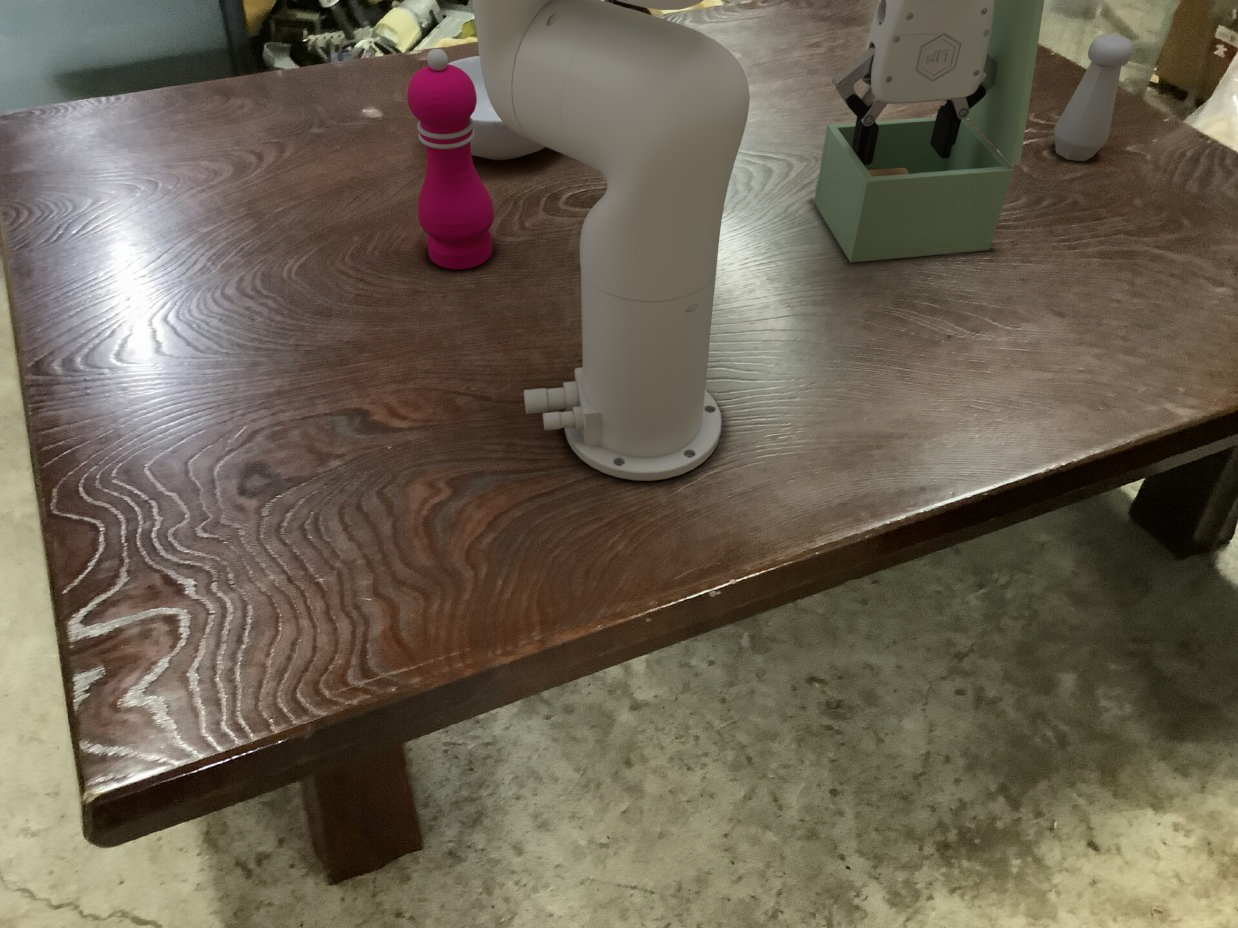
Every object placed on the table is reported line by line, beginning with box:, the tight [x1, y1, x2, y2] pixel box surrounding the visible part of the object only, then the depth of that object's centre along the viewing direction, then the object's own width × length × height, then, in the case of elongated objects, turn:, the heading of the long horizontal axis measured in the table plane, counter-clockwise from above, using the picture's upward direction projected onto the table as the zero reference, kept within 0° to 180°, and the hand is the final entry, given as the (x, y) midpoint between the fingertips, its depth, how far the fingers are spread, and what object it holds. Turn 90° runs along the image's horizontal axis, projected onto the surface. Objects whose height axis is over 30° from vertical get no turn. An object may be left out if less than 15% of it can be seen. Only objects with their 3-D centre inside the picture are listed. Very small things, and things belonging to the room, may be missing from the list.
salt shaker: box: [1053, 33, 1135, 162], centre depth 108 cm, size 6×6×13 cm
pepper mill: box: [406, 48, 495, 270], centre depth 90 cm, size 7×7×20 cm
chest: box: [813, 116, 1016, 263], centre depth 98 cm, size 15×12×9 cm
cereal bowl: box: [448, 55, 546, 161], centre depth 111 cm, size 17×17×7 cm
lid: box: [966, 0, 1045, 166], centre depth 90 cm, size 16×12×1 cm
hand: (901, 154), depth 96 cm, fingers open, 7 cm apart
